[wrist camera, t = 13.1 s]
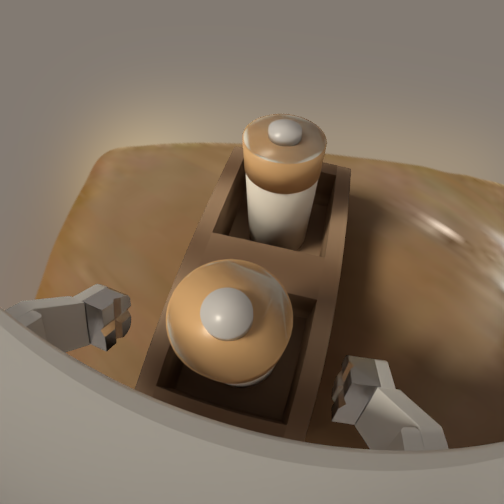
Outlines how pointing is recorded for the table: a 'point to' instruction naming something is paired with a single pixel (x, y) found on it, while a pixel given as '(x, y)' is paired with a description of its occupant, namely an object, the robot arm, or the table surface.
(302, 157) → the cell
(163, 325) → the rack
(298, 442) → the robot arm
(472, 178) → the table surface
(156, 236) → the table surface
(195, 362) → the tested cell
